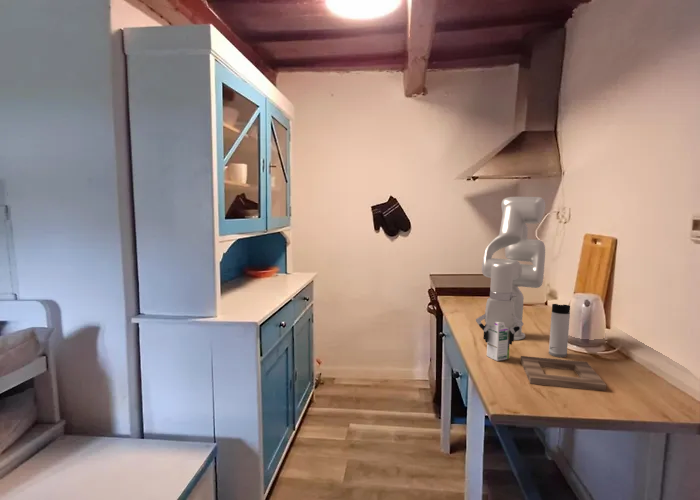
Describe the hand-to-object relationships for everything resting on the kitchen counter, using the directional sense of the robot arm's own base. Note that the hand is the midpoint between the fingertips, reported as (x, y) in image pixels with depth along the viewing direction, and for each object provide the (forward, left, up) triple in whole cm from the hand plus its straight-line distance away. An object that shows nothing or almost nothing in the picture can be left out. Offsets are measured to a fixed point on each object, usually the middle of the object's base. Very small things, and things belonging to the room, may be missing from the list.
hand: (498, 342), depth 162 cm
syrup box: (0, 0, -6) cm, 6 cm away
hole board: (+11, +19, -6) cm, 23 cm away
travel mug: (-10, +23, -6) cm, 26 cm away
